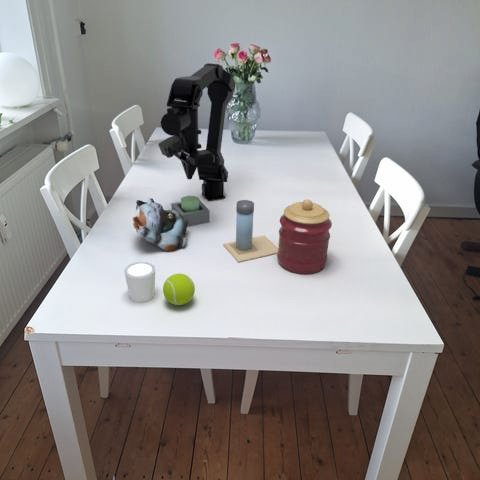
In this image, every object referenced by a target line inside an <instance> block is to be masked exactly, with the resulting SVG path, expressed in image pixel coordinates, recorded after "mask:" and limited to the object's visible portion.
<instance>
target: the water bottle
mask: <svg viewBox="0 0 480 480" xmlns="http://www.w3.org/2000/svg"><path fill="white" fill-rule="evenodd" d="M235 210H236V226H235V230H236V231H235V241H236V248H237V249H238V250H240V251H248V250H251V249H252V238H253V232H254V231H253V230H254V211H255V202H254V201H252V200H248V199H243V200H242V199H240V200H238V201H236V207H235Z"/></svg>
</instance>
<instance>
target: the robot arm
mask: <svg viewBox="0 0 480 480" xmlns="http://www.w3.org/2000/svg"><path fill="white" fill-rule="evenodd" d="M205 89H207V92H206V93H207V96H208V98H209V102H210V103H211V104H210V112H209V113H210V114H209V119H208V129H207V137H206V144H205V145H206V148H205V149H202V144H201V143H199V135H202V129H199V107H200V106H201V104H200V101H201V99H202V97H203V95H204V94H203V91H204V90H205ZM235 90H236V81H235V79H234V77H233V75H232V74H231V73H230V72H229V71H227V70H225V68H224V67H223V65H221V64H219V63H211V62H208V63H205V64H204V65H203V67H201V68H199V69H198V70H197V71H195V72H193V73H192V74H191V75H189V76H180V77H179V76H178V77H176V78H175V79H174V80H173V81H172V84H171V86H170V90H169V94H168V98H167V101H166V107H167V108H166V113H165V114H163V115H162V117H161V119H160V127H161V129H162V131H163V132H164V133H165V134H166V135H168V136H169V137H166V139H164V140H162V141H160V142H159V143H158V148H159V150H160V152H161V155H162V156H165V157H166V158H168V159H169V158H172V157H174V156H175V158H176V159H178V160H179V161H180V162H181V166H182V168H183V170H184V173H185V177H186V179H187V180H192V179H193V177H194V175H195V172H196V170H197V175H198V180H199V181H203V182H202V183H201V195H202V196H203V198H205V200H206V201H208V202H210V201H217V200H222V199H226V195H225V193H224V189H225V187H224V186H225V183H228V179H229V178H228V177H229V172H228V170H227V168H226V166H225V158H224V156H223V154H222V152H221V150H222V149H221V148H222V142H223V135H224V134H223V133H224V126H225V120H226V119H225V117H226V110H227V105H228V104H229V103H230V102H231V101H232V99H233V95H234V92H235ZM200 149H201V150H200Z"/></svg>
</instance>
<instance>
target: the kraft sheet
mask: <svg viewBox="0 0 480 480" xmlns="http://www.w3.org/2000/svg"><path fill="white" fill-rule="evenodd" d="M222 246H223V247H224V248H225V249H226V251H228V253H229V254H230V256H232V257H233V258H234V259H235V261H236V262H237V263H239V264H240V263H242V262H247V261H251V260H252V261H253V260H256V259H261V258H265V257H269V256H273V255H274V256H275V255H277V251H278V247H279V246H277V245H276V244H275V243H274V242H272V241H271V239H269V238H268V237H267V236H266V235H265V234H264V235H260V236H254V237H252V249H251V250H248V251H240V250H238V249H237V248H236V240H235V241H230V242H226V243H225V242H224V243H222Z"/></svg>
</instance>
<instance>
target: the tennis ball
mask: <svg viewBox="0 0 480 480" xmlns="http://www.w3.org/2000/svg"><path fill="white" fill-rule="evenodd" d="M195 289H196V287H195V283H194V281H193V279H192V278H190V277H189V275H187V274H185V273H175V274H174V273H173V274H172V275H170V276H168V277H167V278H166V280H164V282H163V286H162V293H163V296H164V298H165V300H166V301H167V302H168V303H170V304H172V305H175V306H183V305H187V304H188V303H189V302H190V301H191V300H192V299H193V297H194V295H195V291H196V290H195Z"/></svg>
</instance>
